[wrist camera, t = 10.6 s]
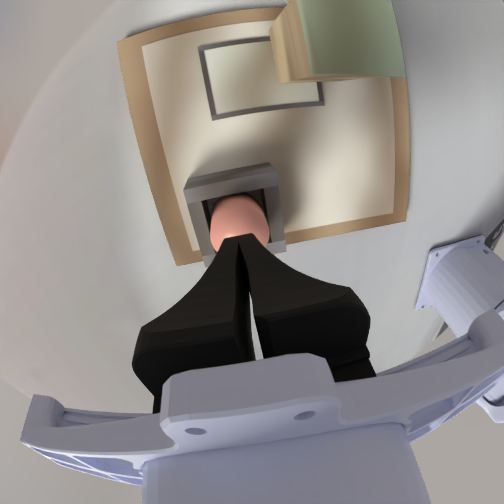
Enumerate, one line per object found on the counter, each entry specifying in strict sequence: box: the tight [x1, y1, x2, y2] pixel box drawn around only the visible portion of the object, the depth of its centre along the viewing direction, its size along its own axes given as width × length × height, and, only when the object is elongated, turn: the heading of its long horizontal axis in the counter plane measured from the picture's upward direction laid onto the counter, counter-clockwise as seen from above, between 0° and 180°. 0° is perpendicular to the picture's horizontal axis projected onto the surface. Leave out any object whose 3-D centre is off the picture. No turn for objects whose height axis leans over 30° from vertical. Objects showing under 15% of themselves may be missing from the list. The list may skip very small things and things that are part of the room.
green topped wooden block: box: [269, 0, 406, 85], centre depth 9 cm, size 4×4×7 cm
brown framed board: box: [117, 7, 410, 267], centre depth 14 cm, size 18×16×3 cm
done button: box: [210, 192, 270, 252], centre depth 15 cm, size 3×3×3 cm
